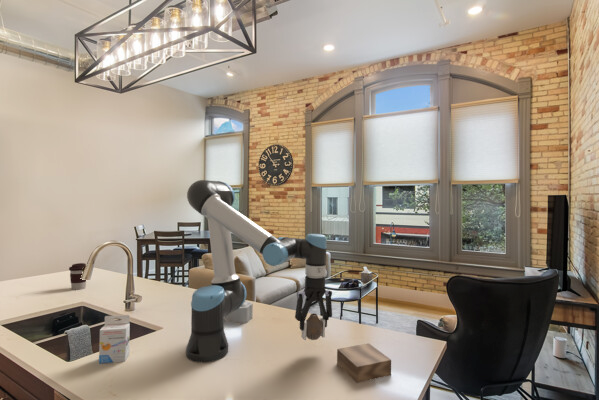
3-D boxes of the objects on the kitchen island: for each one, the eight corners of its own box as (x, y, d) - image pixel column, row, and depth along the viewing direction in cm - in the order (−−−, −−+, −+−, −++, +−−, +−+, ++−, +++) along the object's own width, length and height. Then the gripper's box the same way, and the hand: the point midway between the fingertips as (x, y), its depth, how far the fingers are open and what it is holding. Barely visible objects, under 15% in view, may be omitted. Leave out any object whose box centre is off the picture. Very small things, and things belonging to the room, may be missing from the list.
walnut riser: (356, 382, 102) (357, 366, 102) (337, 363, 114) (337, 348, 114) (391, 375, 107) (391, 359, 107) (368, 356, 119) (368, 343, 119)
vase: (309, 343, 117) (310, 319, 117) (300, 335, 123) (301, 312, 123) (325, 340, 120) (326, 316, 120) (316, 332, 126) (317, 310, 126)
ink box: (98, 364, 111) (98, 321, 111) (103, 357, 116) (104, 315, 116) (125, 361, 113) (126, 319, 113) (129, 355, 118) (130, 314, 118)
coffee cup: (64, 290, 197) (64, 265, 197) (78, 285, 207) (78, 262, 207) (78, 291, 195) (79, 266, 195) (92, 286, 205) (92, 263, 205)
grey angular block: (244, 324, 148) (244, 305, 147) (219, 320, 152) (219, 302, 152) (254, 317, 157) (254, 299, 157) (231, 313, 162) (231, 296, 161)
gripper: (294, 280, 114) (291, 345, 114) (343, 276, 121) (341, 338, 122) (286, 274, 121) (284, 336, 121) (334, 272, 128) (331, 330, 128)
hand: (313, 337), depth 121 cm, fingers closed on vase, 7 cm apart
